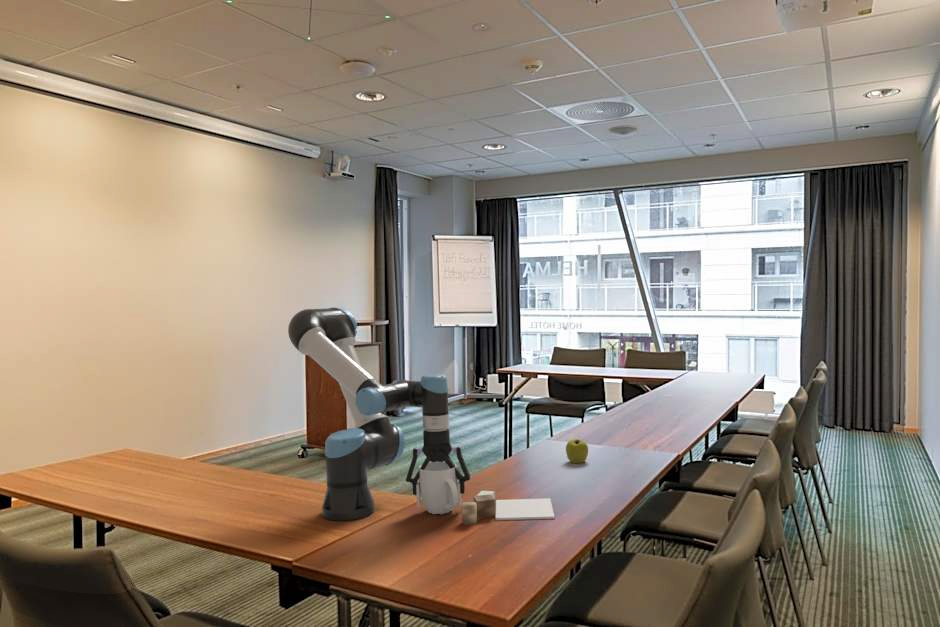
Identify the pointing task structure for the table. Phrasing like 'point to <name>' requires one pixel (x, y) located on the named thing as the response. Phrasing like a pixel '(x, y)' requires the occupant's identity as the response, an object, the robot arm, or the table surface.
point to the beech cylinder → (469, 513)
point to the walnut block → (485, 506)
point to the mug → (438, 487)
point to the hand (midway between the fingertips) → (439, 505)
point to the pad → (524, 509)
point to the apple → (577, 450)
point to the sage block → (487, 493)
